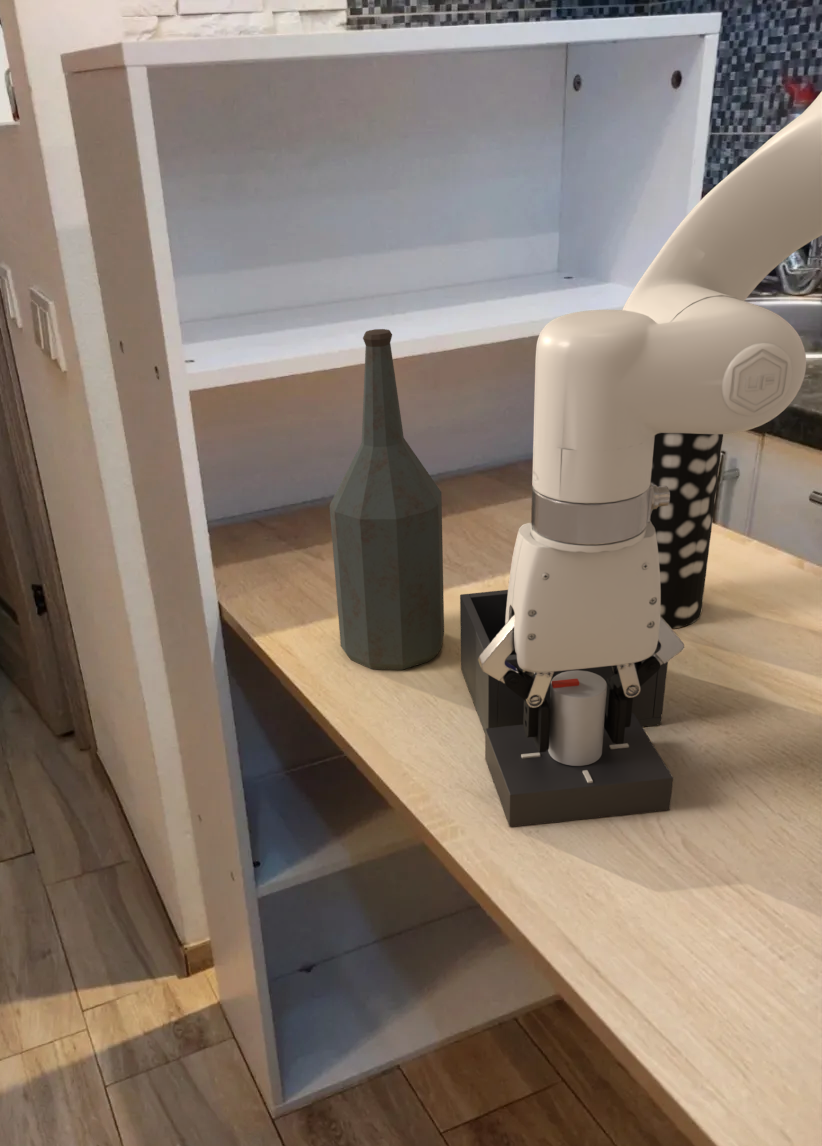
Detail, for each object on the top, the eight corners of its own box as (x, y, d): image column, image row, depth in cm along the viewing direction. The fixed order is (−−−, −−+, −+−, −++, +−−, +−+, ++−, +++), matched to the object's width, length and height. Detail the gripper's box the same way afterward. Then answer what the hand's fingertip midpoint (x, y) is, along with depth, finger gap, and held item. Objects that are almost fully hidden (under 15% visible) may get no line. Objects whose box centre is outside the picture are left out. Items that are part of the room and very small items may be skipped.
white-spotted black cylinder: (699, 632, 99) (725, 426, 88) (610, 626, 101) (625, 424, 91) (702, 595, 105) (726, 399, 95) (618, 589, 108) (632, 398, 97)
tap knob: (593, 734, 80) (598, 664, 77) (608, 763, 77) (614, 691, 73) (542, 739, 80) (545, 669, 77) (555, 768, 77) (559, 696, 73)
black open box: (614, 653, 96) (620, 577, 92) (661, 725, 86) (670, 643, 82) (460, 669, 96) (460, 594, 92) (488, 743, 86) (488, 661, 81)
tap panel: (630, 743, 84) (633, 711, 82) (669, 810, 76) (673, 775, 74) (485, 759, 84) (485, 726, 82) (509, 827, 76) (510, 793, 74)
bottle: (369, 683, 96) (348, 351, 80) (324, 641, 103) (296, 331, 87) (464, 653, 99) (461, 329, 83) (413, 615, 107) (402, 312, 91)
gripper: (694, 479, 71) (669, 701, 81) (451, 503, 71) (455, 723, 81) (738, 518, 65) (705, 754, 75) (472, 545, 65) (473, 778, 74)
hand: (575, 736), depth 78 cm, fingers open, 5 cm apart
